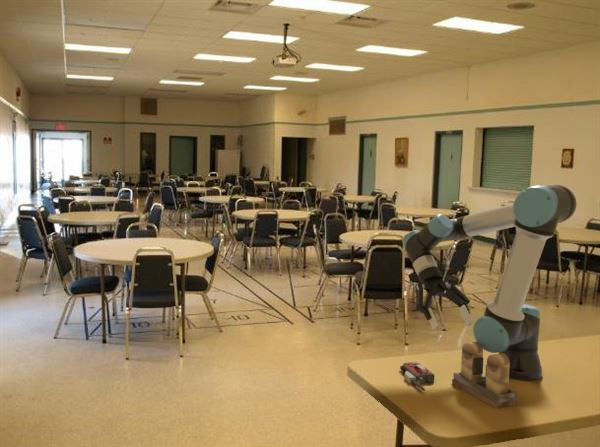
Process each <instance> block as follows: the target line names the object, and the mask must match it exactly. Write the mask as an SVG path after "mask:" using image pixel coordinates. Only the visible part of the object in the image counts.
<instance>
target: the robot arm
mask: <svg viewBox="0 0 600 447" xmlns="http://www.w3.org/2000/svg"><path fill="white" fill-rule="evenodd" d="M576 209H577V198H576V196H575V194H574V192H573V191H572V190H571V189H570V188H568V187H567V186H564V185H560V184H549V185H546V184H545V185H542V184H537V185H532V186H529V187H526V188H524V189H522V190H521V191H520V192H519V193H518V194H517V196H516V197H515V199H514V201H513V203H510V204H507V205H502V206H499V207H494V208H490V209H486V210H483V211H479V212H475V213H472V214H468V215H463V216H460V217H456V218H449V217H448V216H446V215H443V214H441V213H440V214H437V215H435V216H434V217H433V218H431V219H430V220H429V221H428V222H427V224H425V226H424V227H422V229H420V230H411V231H409V233H406V234H405V235H404V236H403V238H402V244H403V247H404V251H405V252H406V253H407V255H408V258H409V259H410V262H411V265H412V267H413V269H414V271H415V273H416V275H417V277H418V279H419V282H418V283H417V284H416V286H415V287H414V288H415V291H416V302H415V306H416V307H415V310H416V311H417V312H420V313H421V314H423V315H424V318H425V320H427V321H428V322H429V324H430V327H431V328H432V331H436V329H438V328H439V323H438V321H437V318H436V316H435V315H434V312H433V310H432V308H431V307H429V306H430V303H431V300H432V297H437V296H438V297H441V296H442V298H443V297H444V298H446V299H448V300H449V301H451V302H452V303H454V305H456V306H458V307H459V309H458V310H459V312H460V314H461V316H462V318H463V321H464V323H465V324H466V327H469V326H470V325H471V324H472V323H474V324H473V327H472V333H473V337H474V339H475V342H479V343H480V344H481V346H482V348H483V351H486V352H488V353H492V354H500V353H504V354H506V355H507V357H508V358H509V362H510V368H509V379H513V380H519V381H535V380H539V379H540V378H541V377H542V376H543V367H542V365H541V360H540V356H539V351H538V350H539V338H540V336H539V335H540V323H541V312H540V308H538V307H536V306H534V305H530V304H525V301H526V298H527V295H528V293H529V290H530V288H531V285H532V281H533V279H534V275H535V273H536V269H537V267H538V265H539V262H540V259H541V256H542V253H543V251H544V247H545V245H546V242H547V240H548V239H551V238H552V237H554V235H555V232H556V230H557V226H558V224H559V223H560V224H561V223H564V222H566V221H567V220H569V219H570V218H572V216H574V214H575V211H576ZM514 227H515V230H516V233H515V235H514V236H515V237H514V239H513V241H512V245H511V247H510V250H509V253H508V256H507V260H506V262H505V266H504V269H503V271H502V275H501V277H500V281H499V284H498V287H497V290H496V293H495V296H494V299H493V300H492V301H489V302H488V303H487V304H486V307H485V310H484V312H483V315H482V316H480V317H478V319H477V320H475V322H474V320H473V319H472V317H471V312H470V309H469V307H468V305H469V304H470V303H471V300H470V299H469V298H468V297H467V296H466V295H465V294H464V293H463V292H462V291H461V290H460V289H459V288H458V287H457V286H456V285H455V283H453V281H452V280H451V279H449V280H448V281H446V282H445V281H444V280H443V275H442V273H441V269H440V268H439V267H438V263H436V260H435V258H434V256H433V254H432V250H433V249H435V248H436V247H437V246H438V245H439V244H440V243H441V242H443V243H444V242H449V241H450V242H451V241H457V240H465V239H468V238H470V237H471V238H472V237H476V236H479V235H483V234H487V233H493V232H497V231H501V230H502V231H503V230H506V229H510V228H514ZM424 291H426V294H425V299H424Z"/></svg>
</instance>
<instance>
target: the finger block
mask: <svg viewBox="0 0 600 447" xmlns="http://www.w3.org/2000/svg"><path fill="white" fill-rule="evenodd" d="M460 361H461V364H460V365H461V366H460V372H461V375H462V376H463V377H465V378H467V379H469V380H471V381H479V380H482V375H484V374H483V373H484V349H483V348H482V346H481V344H480V343H479V342H477V341H474V342H473V341H472V342H465V343H464V344H463V345H462V347H461V360H460Z"/></svg>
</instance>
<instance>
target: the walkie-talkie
mask: <svg viewBox="0 0 600 447" xmlns="http://www.w3.org/2000/svg"><path fill="white" fill-rule="evenodd" d="M399 368H400V370H401V371H403V372H404V373H405V374H404V373H403V372H402V373H403V374H404V380H405V381H407V382H408V384H411V385H412V384H414V386H416V387H417V388H418V389H420V390H422V391H423V392H424V391H426V390H425V387H424V386H422V385H421V384H425V383H426V384H427V383H430V384H431V383H434V382H435V374H434V373H433V372H432V371H430V370H429V369H428V368H427V367H426V366H424V365H423V364H421V363H419V362H418V361H413V362H404V363H402V365H400V366H399Z"/></svg>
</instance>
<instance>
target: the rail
mask: <svg viewBox="0 0 600 447" xmlns="http://www.w3.org/2000/svg"><path fill="white" fill-rule="evenodd" d="M486 358H487V359H486V364H485V376H484V374H482V380H479V381H471V380H469V379H467V378H465V377H463V376H462V375H461V371H458V372H457V371H456V372H453V378H452V379H451V382H452V385H454V386H456V387H457V388H459V389H461V391H462V390H463V391H465V392H466V393H468V394H469V395H471V396H473V397H475V398H477V399H478V400H480V401H482V402H484V403H486V404H487V405H489V406H491V407H493V408H495V409H499V408H506V407H511V406H516V405H518V404H519V403H518V402H519V399H518V392H517V391H514V390H512V389H510V388H509V384H510V383H509V382H510V378H509V368H510V362H509V358H508V357H507V355H506V354H504V353H500V354H498V353H492V354H490V355H488V356H487V357H486Z"/></svg>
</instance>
